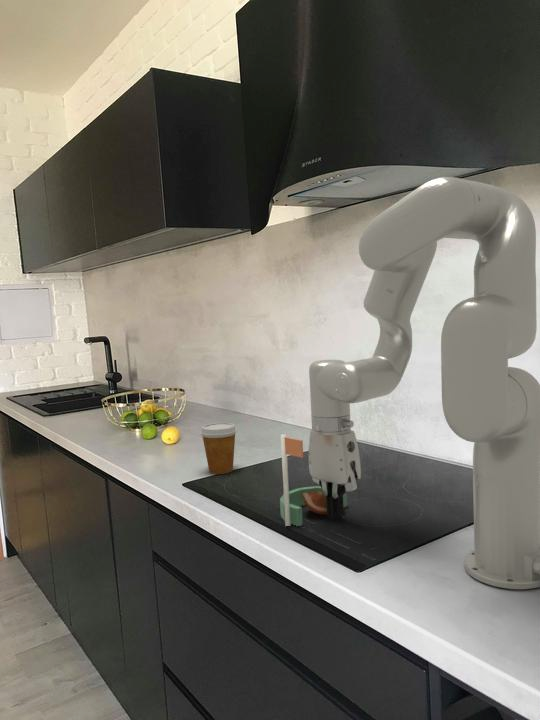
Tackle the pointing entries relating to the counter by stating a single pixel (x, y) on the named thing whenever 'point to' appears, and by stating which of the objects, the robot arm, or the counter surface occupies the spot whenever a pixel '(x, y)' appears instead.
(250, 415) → the counter surface
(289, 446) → the green segmented arc
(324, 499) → the fruit slice
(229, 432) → the disposable coffee cup
